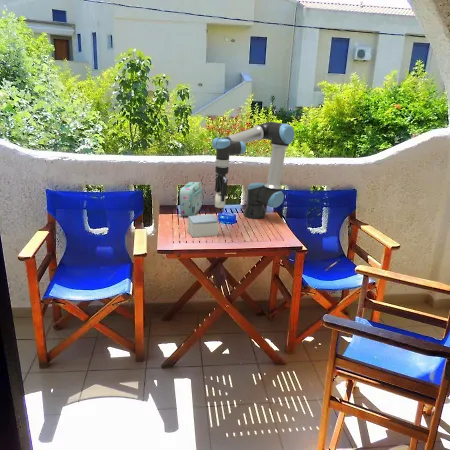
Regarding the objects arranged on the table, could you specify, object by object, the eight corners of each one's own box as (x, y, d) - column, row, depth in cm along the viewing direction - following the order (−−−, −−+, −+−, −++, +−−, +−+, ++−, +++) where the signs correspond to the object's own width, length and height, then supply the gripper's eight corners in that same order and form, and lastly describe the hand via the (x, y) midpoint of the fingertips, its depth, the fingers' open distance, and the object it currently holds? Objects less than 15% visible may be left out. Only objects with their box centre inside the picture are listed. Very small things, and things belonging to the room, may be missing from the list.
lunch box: (193, 219, 279) (193, 188, 271) (178, 218, 280) (178, 187, 273) (203, 208, 303) (204, 179, 296) (189, 206, 305) (190, 177, 298)
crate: (212, 228, 265) (212, 216, 262) (218, 235, 255) (218, 222, 252) (187, 230, 260) (187, 218, 257) (192, 237, 249) (192, 224, 247)
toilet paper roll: (222, 204, 253) (223, 193, 251) (226, 207, 248) (227, 196, 246) (213, 205, 251) (214, 193, 249) (216, 208, 246) (217, 196, 243)
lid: (212, 215, 262) (212, 214, 262) (218, 221, 252) (218, 220, 251) (188, 217, 257) (188, 216, 257) (193, 224, 247) (193, 222, 246)
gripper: (210, 162, 248) (208, 200, 256) (221, 170, 232) (219, 209, 240) (222, 162, 251) (220, 199, 259) (234, 169, 234) (231, 209, 242)
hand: (220, 204), depth 249 cm, fingers closed on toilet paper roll, 6 cm apart
